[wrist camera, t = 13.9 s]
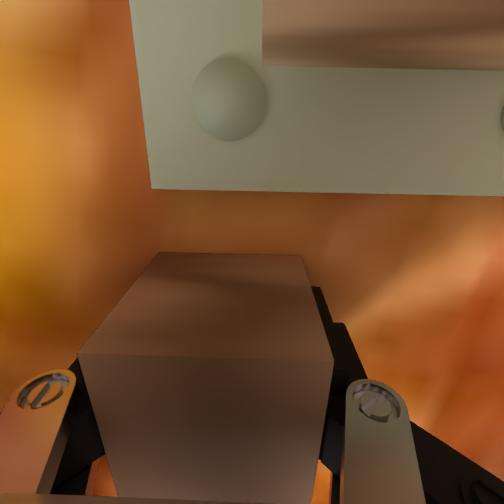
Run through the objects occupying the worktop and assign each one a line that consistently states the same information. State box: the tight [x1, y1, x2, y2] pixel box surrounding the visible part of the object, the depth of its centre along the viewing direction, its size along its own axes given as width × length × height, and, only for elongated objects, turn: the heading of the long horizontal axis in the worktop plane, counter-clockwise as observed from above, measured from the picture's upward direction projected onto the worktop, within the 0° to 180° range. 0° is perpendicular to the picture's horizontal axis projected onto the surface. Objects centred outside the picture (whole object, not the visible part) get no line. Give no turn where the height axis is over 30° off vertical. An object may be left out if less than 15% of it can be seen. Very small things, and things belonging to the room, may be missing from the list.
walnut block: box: [77, 252, 334, 504], centre depth 9 cm, size 5×5×5 cm
